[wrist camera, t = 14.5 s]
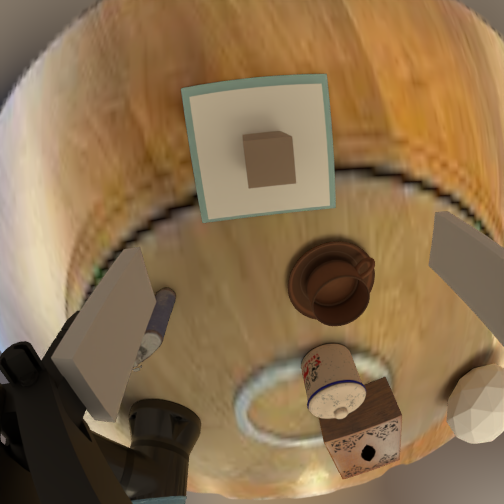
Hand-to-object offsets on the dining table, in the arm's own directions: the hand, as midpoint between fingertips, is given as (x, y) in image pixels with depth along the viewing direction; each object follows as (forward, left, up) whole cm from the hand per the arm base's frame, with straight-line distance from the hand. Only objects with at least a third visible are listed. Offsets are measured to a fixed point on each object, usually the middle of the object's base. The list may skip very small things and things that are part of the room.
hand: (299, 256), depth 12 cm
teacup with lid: (+7, -34, -24) cm, 42 cm away
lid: (0, +2, -23) cm, 23 cm away
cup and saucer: (+8, -16, -24) cm, 30 cm away
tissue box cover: (+16, -55, -24) cm, 62 cm away
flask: (-18, -18, -24) cm, 35 cm away
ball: (+46, -52, -24) cm, 74 cm away
